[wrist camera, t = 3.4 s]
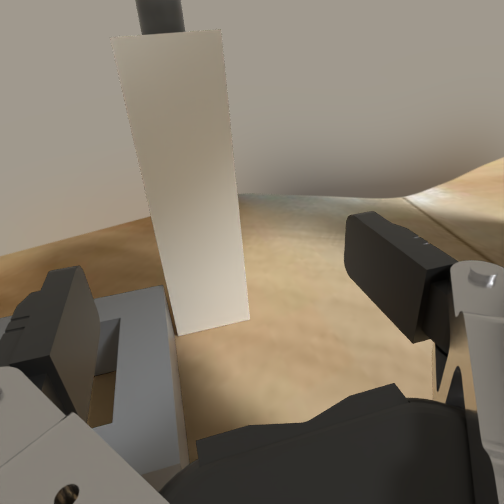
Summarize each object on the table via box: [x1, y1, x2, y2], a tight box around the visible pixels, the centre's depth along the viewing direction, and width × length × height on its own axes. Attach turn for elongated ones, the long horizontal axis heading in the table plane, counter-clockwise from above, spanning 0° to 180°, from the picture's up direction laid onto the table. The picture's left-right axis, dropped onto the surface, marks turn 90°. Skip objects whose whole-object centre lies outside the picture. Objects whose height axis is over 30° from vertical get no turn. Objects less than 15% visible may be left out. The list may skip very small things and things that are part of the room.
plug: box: [110, 0, 250, 336], centre depth 20 cm, size 5×5×18 cm
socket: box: [0, 285, 190, 492], centre depth 16 cm, size 11×11×4 cm
